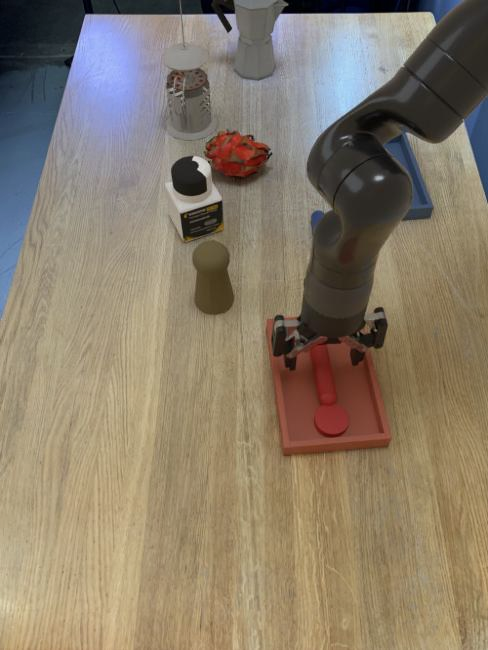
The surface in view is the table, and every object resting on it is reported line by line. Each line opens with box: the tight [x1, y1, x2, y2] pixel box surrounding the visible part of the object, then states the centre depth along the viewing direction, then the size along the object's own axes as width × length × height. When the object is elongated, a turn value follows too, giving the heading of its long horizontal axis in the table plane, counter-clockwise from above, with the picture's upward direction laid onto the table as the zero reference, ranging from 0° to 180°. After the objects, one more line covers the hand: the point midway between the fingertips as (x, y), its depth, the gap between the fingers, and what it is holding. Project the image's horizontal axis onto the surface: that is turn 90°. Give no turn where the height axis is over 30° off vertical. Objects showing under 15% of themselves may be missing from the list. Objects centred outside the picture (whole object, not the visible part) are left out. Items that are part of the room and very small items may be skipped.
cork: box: [191, 239, 235, 316], centre depth 86 cm, size 6×6×11 cm
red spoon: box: [310, 344, 349, 438], centre depth 81 cm, size 16×4×2 cm, turn 5°
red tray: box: [265, 316, 393, 456], centre depth 81 cm, size 14×20×2 cm
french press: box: [161, 0, 218, 141], centre depth 103 cm, size 10×12×25 cm
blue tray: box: [384, 133, 435, 221], centre depth 104 cm, size 14×20×2 cm
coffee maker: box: [211, 0, 289, 81], centre depth 117 cm, size 15×9×18 cm, turn 77°
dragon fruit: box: [202, 127, 273, 182], centre depth 104 cm, size 8×8×12 cm
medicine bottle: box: [164, 155, 225, 243], centre depth 95 cm, size 7×7×12 cm
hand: (322, 362), depth 82 cm, fingers open, 8 cm apart
